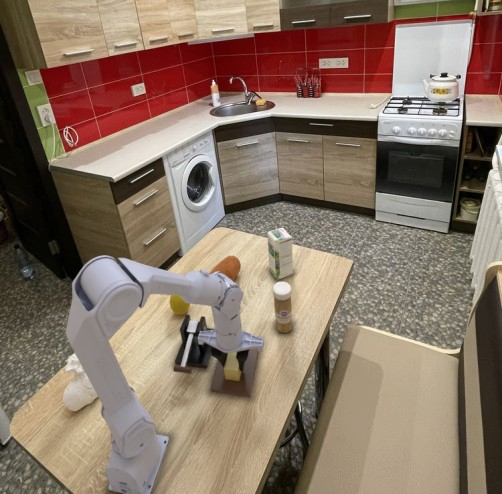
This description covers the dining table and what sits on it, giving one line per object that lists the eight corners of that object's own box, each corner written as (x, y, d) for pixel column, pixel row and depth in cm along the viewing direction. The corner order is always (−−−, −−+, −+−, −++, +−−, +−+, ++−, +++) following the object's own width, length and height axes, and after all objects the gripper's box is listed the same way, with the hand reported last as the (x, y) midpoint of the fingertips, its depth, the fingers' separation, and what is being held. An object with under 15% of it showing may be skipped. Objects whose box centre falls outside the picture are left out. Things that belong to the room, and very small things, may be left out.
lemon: (188, 321, 95) (183, 300, 91) (169, 319, 96) (164, 298, 93) (194, 305, 100) (190, 284, 96) (177, 303, 101) (172, 283, 98)
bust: (115, 373, 85) (88, 335, 85) (126, 372, 80) (98, 333, 80) (69, 419, 76) (40, 377, 76) (79, 421, 71) (47, 377, 71)
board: (250, 397, 75) (249, 394, 75) (210, 391, 77) (210, 388, 77) (260, 340, 88) (260, 337, 87) (226, 336, 89) (226, 334, 89)
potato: (247, 274, 110) (245, 259, 106) (217, 301, 102) (214, 285, 98) (231, 262, 114) (229, 247, 110) (201, 287, 106) (198, 272, 102)
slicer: (206, 368, 82) (201, 343, 78) (175, 364, 84) (168, 339, 80) (218, 332, 91) (214, 307, 87) (189, 329, 92) (184, 305, 89)
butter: (239, 381, 78) (237, 370, 76) (225, 379, 78) (223, 368, 77) (243, 360, 82) (242, 350, 81) (230, 358, 83) (229, 348, 81)
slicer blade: (191, 375, 78) (188, 372, 76) (175, 373, 79) (172, 369, 77) (203, 325, 86) (201, 321, 84) (188, 323, 87) (186, 319, 85)
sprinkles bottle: (279, 336, 88) (276, 296, 83) (273, 322, 92) (270, 283, 87) (295, 330, 89) (294, 291, 84) (288, 316, 93) (286, 278, 88)
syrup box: (268, 269, 111) (265, 232, 105) (284, 263, 113) (282, 226, 107) (277, 280, 106) (275, 242, 100) (294, 273, 108) (292, 236, 102)
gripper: (264, 311, 76) (268, 353, 82) (201, 305, 79) (209, 346, 85) (258, 340, 70) (263, 383, 75) (191, 332, 73) (200, 374, 78)
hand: (234, 365), depth 80 cm, fingers closed on butter, 3 cm apart
